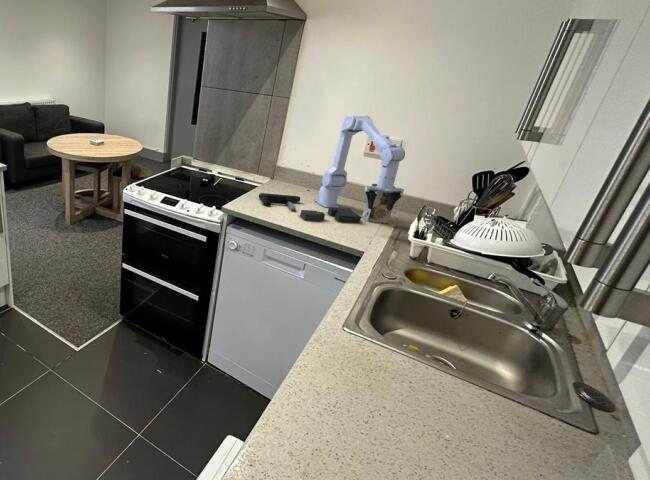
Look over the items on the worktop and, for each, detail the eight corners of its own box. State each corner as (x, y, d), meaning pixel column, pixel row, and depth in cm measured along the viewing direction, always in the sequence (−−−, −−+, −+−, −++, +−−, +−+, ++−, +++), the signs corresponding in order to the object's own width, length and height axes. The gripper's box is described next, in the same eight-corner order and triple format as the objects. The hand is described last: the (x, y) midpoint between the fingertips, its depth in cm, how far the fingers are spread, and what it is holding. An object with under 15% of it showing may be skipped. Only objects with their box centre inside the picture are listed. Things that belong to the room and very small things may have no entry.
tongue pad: (299, 215, 176) (301, 209, 175) (319, 217, 177) (321, 210, 175) (304, 220, 171) (306, 214, 170) (324, 221, 172) (326, 215, 171)
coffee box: (381, 218, 182) (392, 185, 175) (387, 223, 176) (400, 189, 169) (361, 216, 182) (372, 183, 176) (367, 221, 176) (378, 187, 170)
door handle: (309, 208, 180) (298, 194, 194) (265, 204, 180) (258, 191, 194) (307, 214, 181) (296, 200, 195) (264, 210, 181) (256, 197, 196)
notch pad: (327, 213, 182) (328, 207, 181) (347, 214, 183) (349, 208, 182) (337, 221, 173) (339, 215, 172) (359, 223, 174) (361, 216, 172)
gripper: (373, 177, 156) (365, 210, 160) (411, 180, 155) (402, 213, 159) (365, 174, 162) (358, 206, 166) (401, 176, 161) (393, 208, 165)
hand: (379, 209), depth 163 cm, fingers open, 7 cm apart
